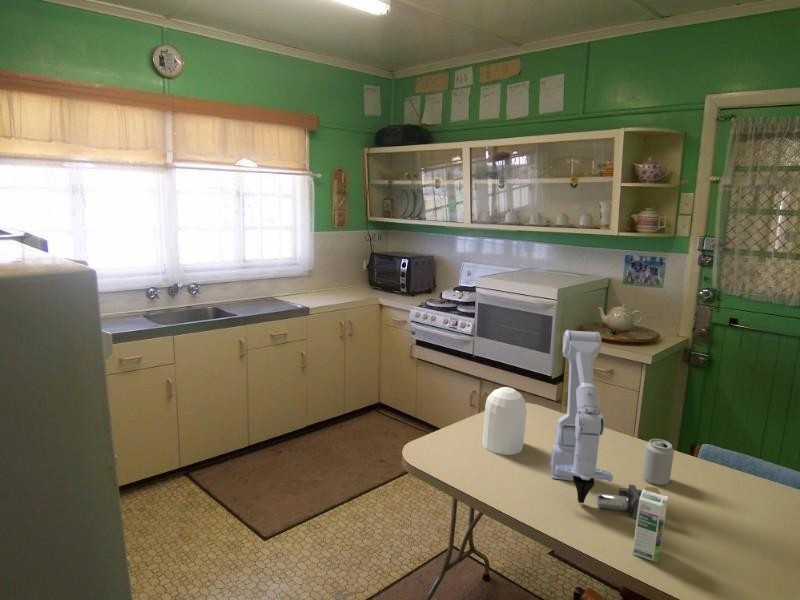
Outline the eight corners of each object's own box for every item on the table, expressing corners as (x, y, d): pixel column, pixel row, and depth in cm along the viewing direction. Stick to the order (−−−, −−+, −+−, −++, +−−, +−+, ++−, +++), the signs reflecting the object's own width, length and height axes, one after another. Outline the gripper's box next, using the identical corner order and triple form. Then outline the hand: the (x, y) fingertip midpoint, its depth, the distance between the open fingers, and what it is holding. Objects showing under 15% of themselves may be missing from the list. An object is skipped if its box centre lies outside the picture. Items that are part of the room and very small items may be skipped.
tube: (598, 510, 145) (600, 497, 144) (596, 502, 149) (597, 490, 148) (646, 516, 143) (647, 503, 142) (642, 508, 146) (644, 496, 146)
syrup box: (631, 554, 128) (638, 499, 125) (635, 541, 133) (642, 487, 130) (657, 563, 125) (666, 507, 122) (660, 549, 130) (668, 495, 127)
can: (672, 488, 157) (678, 450, 155) (644, 484, 159) (650, 447, 156) (665, 475, 164) (670, 438, 162) (639, 472, 166) (644, 435, 163)
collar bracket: (625, 517, 142) (628, 498, 141) (617, 497, 152) (620, 478, 151) (666, 523, 140) (669, 503, 139) (655, 502, 150) (658, 483, 149)
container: (474, 445, 179) (479, 388, 175) (494, 431, 190) (499, 378, 185) (511, 459, 171) (516, 400, 167) (529, 444, 181) (535, 388, 177)
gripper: (559, 458, 142) (554, 505, 145) (617, 465, 139) (611, 513, 142) (556, 446, 149) (552, 491, 152) (612, 452, 146) (606, 498, 149)
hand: (580, 500), depth 147 cm, fingers closed
